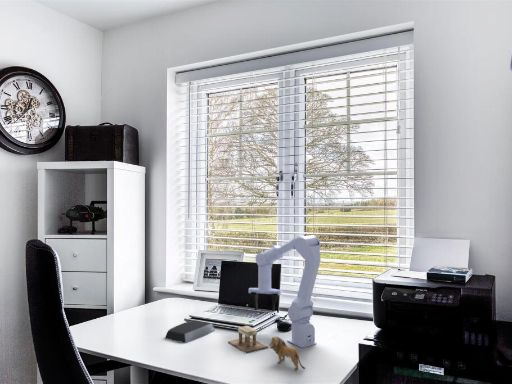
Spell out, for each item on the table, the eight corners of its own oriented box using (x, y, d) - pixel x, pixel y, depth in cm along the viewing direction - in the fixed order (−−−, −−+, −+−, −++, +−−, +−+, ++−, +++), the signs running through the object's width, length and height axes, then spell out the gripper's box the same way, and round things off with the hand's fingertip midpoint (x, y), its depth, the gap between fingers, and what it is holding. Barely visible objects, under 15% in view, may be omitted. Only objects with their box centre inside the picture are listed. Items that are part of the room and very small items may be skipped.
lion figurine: (266, 362, 156) (266, 337, 156) (275, 358, 160) (275, 333, 160) (301, 372, 147) (301, 346, 147) (309, 367, 151) (309, 342, 151)
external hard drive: (216, 332, 192) (216, 322, 192) (187, 344, 176) (187, 334, 176) (193, 327, 199) (193, 318, 199) (163, 339, 183) (163, 329, 183)
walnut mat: (267, 348, 171) (267, 346, 171) (246, 353, 165) (246, 351, 165) (248, 338, 182) (248, 336, 182) (228, 342, 177) (228, 341, 177)
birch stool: (247, 340, 178) (247, 325, 178) (256, 345, 172) (256, 330, 172) (238, 342, 175) (238, 327, 176) (247, 347, 170) (247, 332, 170)
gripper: (246, 280, 190) (246, 311, 190) (278, 281, 186) (278, 313, 186) (250, 277, 197) (250, 307, 197) (282, 278, 193) (282, 309, 193)
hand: (264, 310), depth 192 cm, fingers open, 7 cm apart
